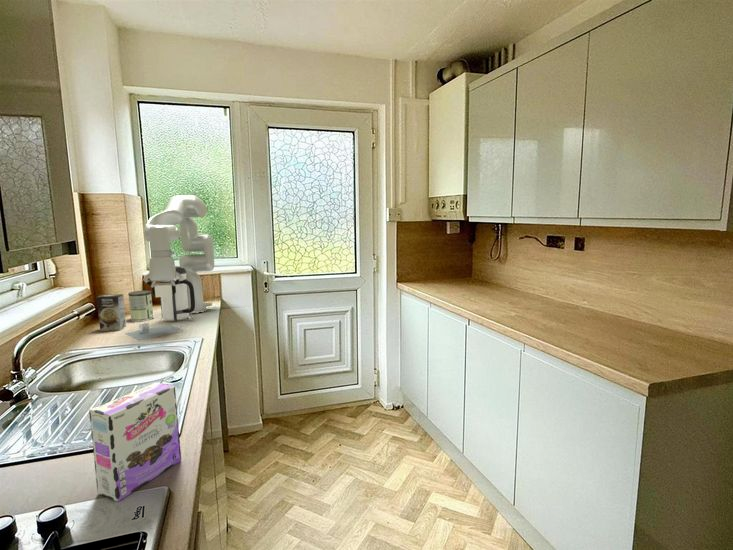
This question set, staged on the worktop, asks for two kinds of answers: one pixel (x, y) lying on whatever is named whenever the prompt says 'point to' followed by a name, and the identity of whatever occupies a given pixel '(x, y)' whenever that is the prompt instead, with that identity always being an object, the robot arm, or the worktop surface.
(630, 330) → the worktop surface
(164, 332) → the base plate
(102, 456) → the candy box
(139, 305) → the coffee can
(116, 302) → the coffee box
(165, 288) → the white striped cube
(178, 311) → the coffee press
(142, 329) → the pale grey block
